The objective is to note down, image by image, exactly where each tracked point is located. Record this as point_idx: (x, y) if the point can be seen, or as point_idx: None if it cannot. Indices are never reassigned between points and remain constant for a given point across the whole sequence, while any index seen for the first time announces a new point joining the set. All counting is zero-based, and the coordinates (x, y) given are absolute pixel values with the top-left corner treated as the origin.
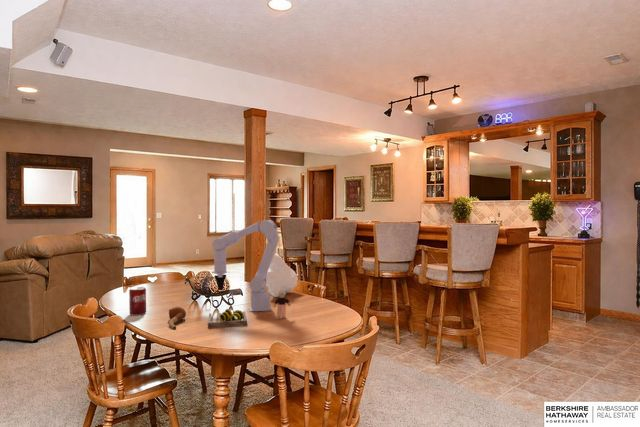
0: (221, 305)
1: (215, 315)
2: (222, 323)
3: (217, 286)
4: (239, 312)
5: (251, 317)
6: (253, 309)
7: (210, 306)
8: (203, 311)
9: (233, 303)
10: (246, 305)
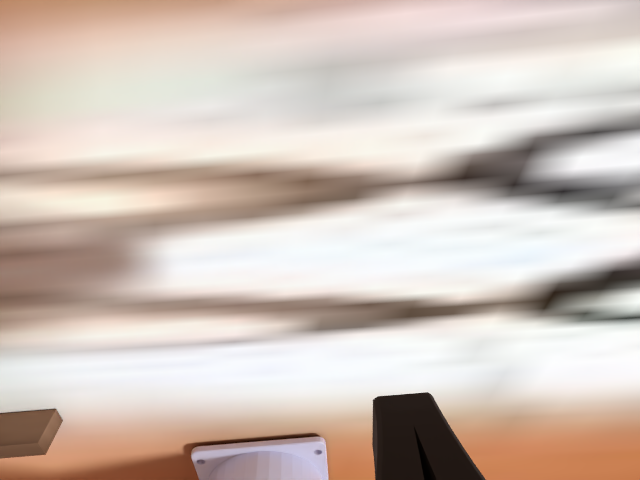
0: (535, 222)
1: (45, 202)
2: None
3: (380, 466)
4: None
5: None
6: (219, 467)
7: (542, 97)
8: (263, 26)
9: (571, 320)
10: None
